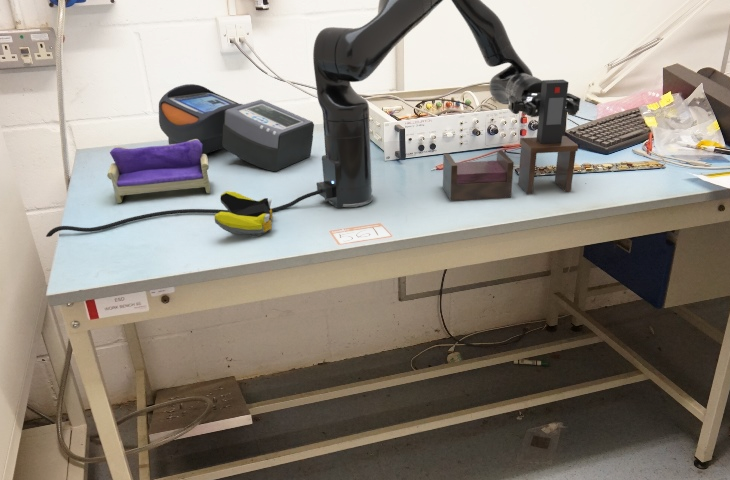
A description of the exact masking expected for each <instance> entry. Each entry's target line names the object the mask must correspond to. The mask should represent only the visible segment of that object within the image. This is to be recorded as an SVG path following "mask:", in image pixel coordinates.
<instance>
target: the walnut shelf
mask: <svg viewBox="0 0 730 480" xmlns="http://www.w3.org/2000/svg"><path fill="white" fill-rule="evenodd" d="M536 139H537V136H535V137H534V136H533V137H520V138H519V144H520V155H519V164H518V165H519V166H518V167H519V168H518V176H517V177H518V178H517V185H518V186H519V187H520V188H521V189H522V190H523V192H525V194H526V195H533V194H534V183H535V173H536V165H537V154H547V153H549V154H550V153H557V157H556V164H555V165H556V166H555V175H554V183H555V184H556V185H557V186H558V187H559V188H560V189H562V191H564V192H565V193H570V192H571V191H572V184H573V176H574V169H575V168H574V167H575V162H576V154H577V152H578V151H579V145H578V144H577V143H575V142H574V141H573V140H571V139H570V138H569V137H568V136H566V135H562V142H561V143H551V144H540V143H539V142H538V141H537V140H536Z"/></svg>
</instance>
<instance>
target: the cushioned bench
mask: <svg viewBox="0 0 730 480" xmlns="http://www.w3.org/2000/svg"><path fill="white" fill-rule="evenodd" d="M442 157H443V158H442V159H443V160H442V189H443V190H444V192H445V194H446V196H447V198H448V200H449V201H450V202H455V201H456V202H457V201H458V202H459V201H475V200H490V199H491V200H493V199H506V198H507V199H508V198H512V188H513V179H514V178H513V177H514V166H515V165H514V164H515V163H514V161H513V160H512V158H510V157H509V156H508V155H507V154H506V152H505V151H503V150H497V151H496V160H480V161H479V160H478V161H464V162H463V161H462V162H456V161H455V160H454V159H453V156H451V154H450V153H443V156H442Z"/></svg>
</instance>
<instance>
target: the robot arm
mask: <svg viewBox="0 0 730 480" xmlns="http://www.w3.org/2000/svg"><path fill="white" fill-rule="evenodd" d="M443 1H444V0H379V1H378V6H377V14H376V16H374V17H373V18H372V19H370V21H368V22H367V23H365V24H364V25H362V26H360V27H355V28H353V27H335V26H329V27H325V28H323V29H322V30H320V31H319V32H318V33H317V35H316V37H315V40H314V42H313V43H314V44H313V49H312V56H313V57H312V60H313V71H314V80H315V87H316V94H317V95H316V96H317V101H318V104H319V107H320V109H321V112H322V123H323V124H322V125H323V138H324V151H325V152H324V153H325V155H322V156H321V164H322V176H323V177H322V178H323V181H319V182H316V190H314V191H311V192H308V193H306V194H303V195H302V196H298V197H297V198H296V199H294V200H292V201H290V202H288V203H286V204H282V205H280V206H275V207H273V208H271V210H272V213H275V212H279V211H282V210H285V209H287V208H291V207H293V206H294V205H296V204H298V203H300V202H301V201H304V200H306V199H308V198H311V197H314V196H317V195H319V196H320V197H321V198H324V201H325V202H326V203H329V204H330V205H332V206H333V207H335V208H336V209H341V208H359V207H362V206H366V205H368V204H371V203H372V202H373V199H374V198H373V187H372V186H373V185H372V184H373V183H372V163H371V162H372V155H371V132H370V131H371V129H370V126H371V125H370V106H369V101H367V99H365V98H364V97H362V96H361V95H360V94H358V93H357V92H356V91H355V90H354V88H353V86H352V84H351V83H358V82H362V81H364V80H366V79H368V78H369V77H370V76H371V75H372V74H373V73H374V72H375V71H376V70H377V68H378V67H379V66H380V64H382V62H383V61H384V60H385V59H386V58H387V56H388V55H389V54H390V52H391V51H392V50H393V49H394V48H395V47H396V46H397V45H398V44H399V43H400V42H401V41H403V39H404V38H405V37H406V36H407V35H408V34H409V33H410V32H411V31H413V30H414V29H415V28H416V27H417V26H419V25H420V24H421V23H422V22H423V21H424V20H425V19H426V18H428V16H429V15H430V14H431V13H432V12H433V11H434V10H435V9H436V8H437V7H438V6H439V5H440V4H441V3H442V2H443ZM451 2H452V4H453V5H454V7H455V8H456V10H457V11H458V12H459V15H460V16H461V17H462V18H463V20H464V21H465V23H466V24H467V27H468V29H469V30H470V32H471V34H472V36H473V38H474V40H475V42H476V44H477V46H478V49H479V51H480V53H481V55H482V57H483V60H484V62H485V64H486V65H487V66H488V67H491V68H494V67H498V66H501V65H504V64H509V66H507V67H506V68H503V70H501V71H500V72H498V73H496V74H495V75H493V76H492V77H491V79H490V81H489V84H488V88H489V93H490V95H491V96H492V98H493V99H494V100H495V101H496V102H498V103H499V104H502V105H508V107H507V109H508V110H509V111H510V112H511V113H512V114H513V115H518V114H520V112H522V115H526V116H527V117H531V118H537V117H539V108H540V98H541V88H542V80H543V79H540V78H538V77H536V76H534V74H533V72H532V70H531V69H530V67H529V66H528V65H527V64H526V63H525V62H524V61H523V59H522V58H521V57H520V56H519V53H517V51H516V50H515V48H514V46H513V45H512V42H511V39H510V37H509V35H508V32H507V30H506V28H505V26H504V24H503V22H502V20H501V18H500V17H499V16H498V15H497V14H496V13H495V12H494V11H493V10H492V9H491V8H490V7H489V6H488V5H486V3H484V2H483V1H482V0H451ZM580 104H581V97H579V96H577V95H574V94H572V93H570V92H567V100H566V108H565V113H567V114H569V115H571V116H576V115H577V113H578V112H579V111H580V106H581V105H580ZM219 212H229V211H228V210H227V209H216V208H183V209H182V208H181V209H170V210H163V211H162V210H161V211H157V212H155V211H154V212H150V213H145V214H142V215H136V216H132V217H131V216H130V217H127V218H123V219H120V220H118V221H114V222H110V223H107V224H104V225H99V226H93V227H80V226H72V225H59V226H56V227H53V228H52V229H50V230H49V231H48V232H47V234H46V235H45V237H46V238H50V237H52V236H53V235H55V234H56V233H57V232H61V231H74V232H82V233H83V232H84V233H92V232H98V231H99V232H100V231H103V230H107V229H111V228H115V227H117V226H121V225H125V224H127V223H131V222H135V221H140V220H144V219H145V220H146V219H150V218H155V217H161V216H169V215H178V214H217V213H219Z"/></svg>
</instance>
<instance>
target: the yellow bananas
mask: <svg viewBox="0 0 730 480" xmlns="http://www.w3.org/2000/svg"><path fill="white" fill-rule="evenodd" d="M219 200H220V203H221V205H222V206H224V207H225V210H228V211H229V212H219V213H215V214H214V223H215V224H216V225H217V226H218V227H220V229H222V230H224V231H225V232H228V233H230V234H231V235H249V236H250V237H253V238H254V237H256V238H257V237H260V236H262V235H263V234H265V233H267V232H269V230H272V229H273V226H272V219H273V218H274V217H273V212H272V210H271V209H272V208H271V205H272V198H268V197H264V198H262V199H260V200H255V199H252V198H251V197H247V196H245V195H242V194H240V193H239V192H236V191H230V190H225V191H224V192H222V193H221V194H220V199H219Z"/></svg>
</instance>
